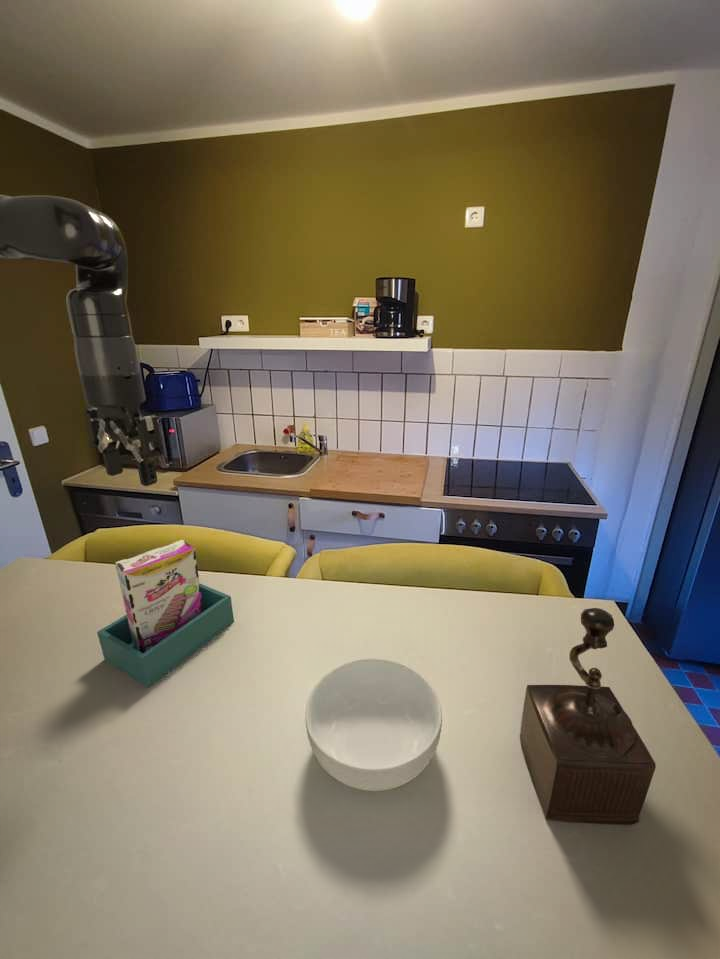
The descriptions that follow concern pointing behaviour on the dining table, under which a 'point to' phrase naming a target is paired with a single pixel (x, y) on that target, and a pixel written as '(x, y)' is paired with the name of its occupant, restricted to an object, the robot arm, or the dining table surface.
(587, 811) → the manual coffee grinder
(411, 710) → the cereal bowl
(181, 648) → the open rectangular box
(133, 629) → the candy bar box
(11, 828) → the dining table surface
